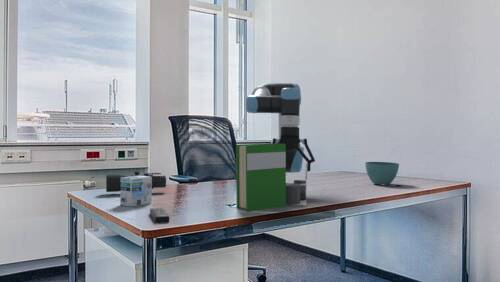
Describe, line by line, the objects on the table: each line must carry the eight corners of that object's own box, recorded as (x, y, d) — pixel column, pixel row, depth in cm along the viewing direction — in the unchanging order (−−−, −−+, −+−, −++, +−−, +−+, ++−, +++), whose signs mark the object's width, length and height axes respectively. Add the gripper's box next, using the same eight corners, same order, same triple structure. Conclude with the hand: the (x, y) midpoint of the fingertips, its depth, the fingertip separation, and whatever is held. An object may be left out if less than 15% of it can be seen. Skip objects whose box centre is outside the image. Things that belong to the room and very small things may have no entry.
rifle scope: (166, 194, 185) (167, 172, 185) (106, 196, 176) (106, 173, 176) (163, 190, 195) (163, 170, 195) (106, 192, 186) (106, 171, 186)
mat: (275, 205, 160) (275, 204, 160) (278, 198, 176) (278, 197, 176) (306, 206, 159) (306, 205, 159) (306, 199, 175) (306, 198, 175)
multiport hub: (155, 224, 126) (155, 216, 126) (149, 215, 140) (149, 208, 140) (169, 223, 128) (169, 216, 128) (162, 214, 142) (162, 207, 142)
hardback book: (247, 211, 146) (246, 145, 145) (236, 208, 152) (236, 144, 151) (285, 206, 156) (285, 143, 155) (274, 203, 162) (273, 143, 161)
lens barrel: (293, 200, 170) (293, 181, 170) (293, 198, 175) (293, 179, 175) (306, 200, 169) (306, 181, 169) (306, 198, 174) (306, 180, 174)
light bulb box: (131, 207, 152) (131, 178, 152) (119, 205, 156) (119, 177, 155) (152, 203, 161) (152, 176, 161) (140, 201, 165) (140, 175, 165)
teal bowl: (403, 184, 231) (404, 163, 231) (390, 187, 218) (391, 164, 217) (373, 181, 243) (373, 161, 243) (359, 184, 230) (359, 162, 229)
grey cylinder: (277, 204, 160) (277, 184, 160) (278, 200, 169) (278, 182, 169) (300, 204, 159) (300, 185, 159) (300, 201, 168) (300, 182, 168)
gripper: (258, 125, 161) (257, 179, 161) (321, 126, 158) (321, 180, 158) (260, 126, 169) (259, 177, 169) (321, 127, 166) (320, 179, 166)
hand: (289, 179), depth 164 cm, fingers open, 13 cm apart
